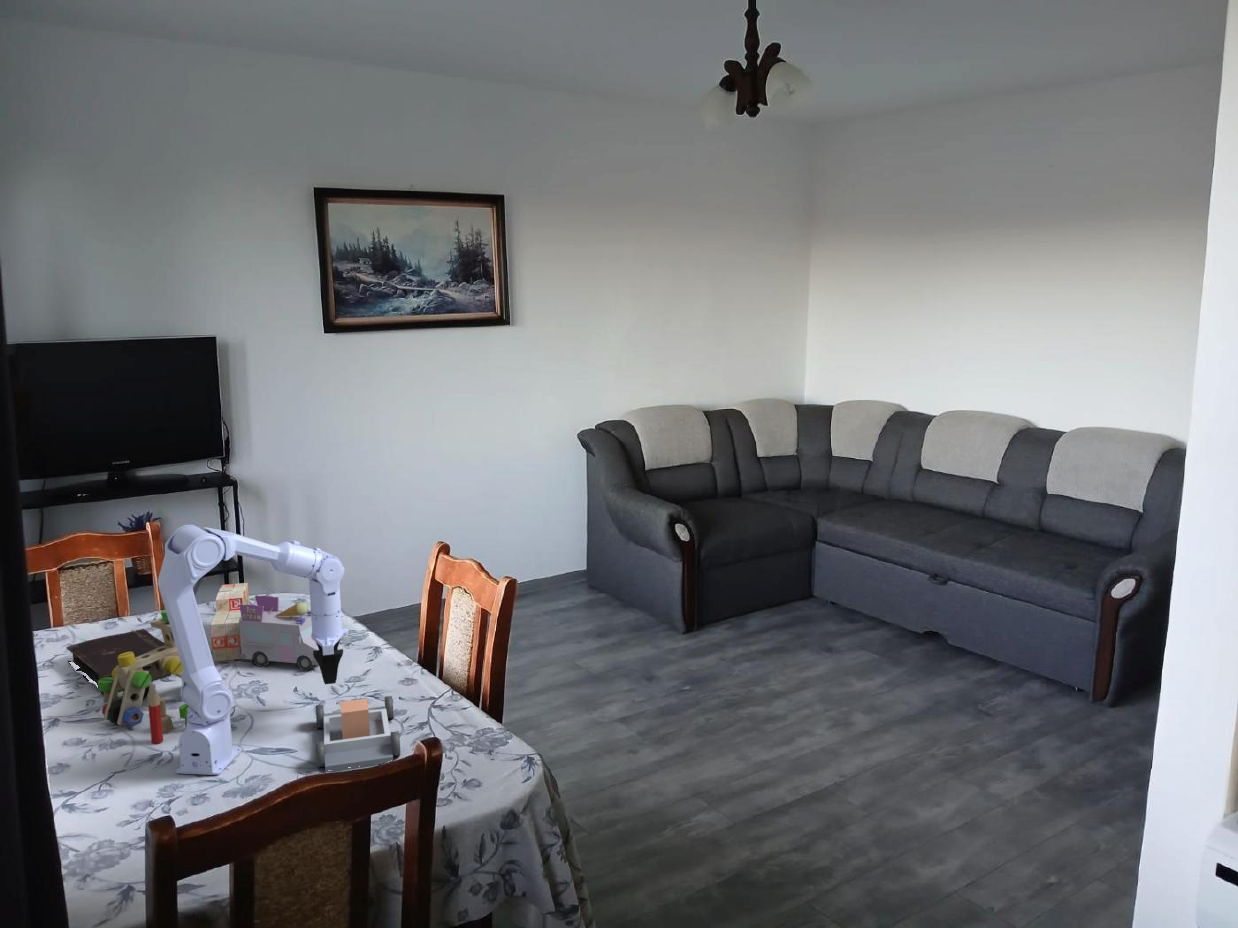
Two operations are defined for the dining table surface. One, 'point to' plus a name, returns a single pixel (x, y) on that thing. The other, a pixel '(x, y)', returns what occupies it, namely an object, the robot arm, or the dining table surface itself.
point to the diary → (113, 653)
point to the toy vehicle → (277, 633)
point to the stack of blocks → (228, 621)
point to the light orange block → (355, 718)
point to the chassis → (356, 740)
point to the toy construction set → (143, 685)
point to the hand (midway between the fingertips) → (329, 675)
